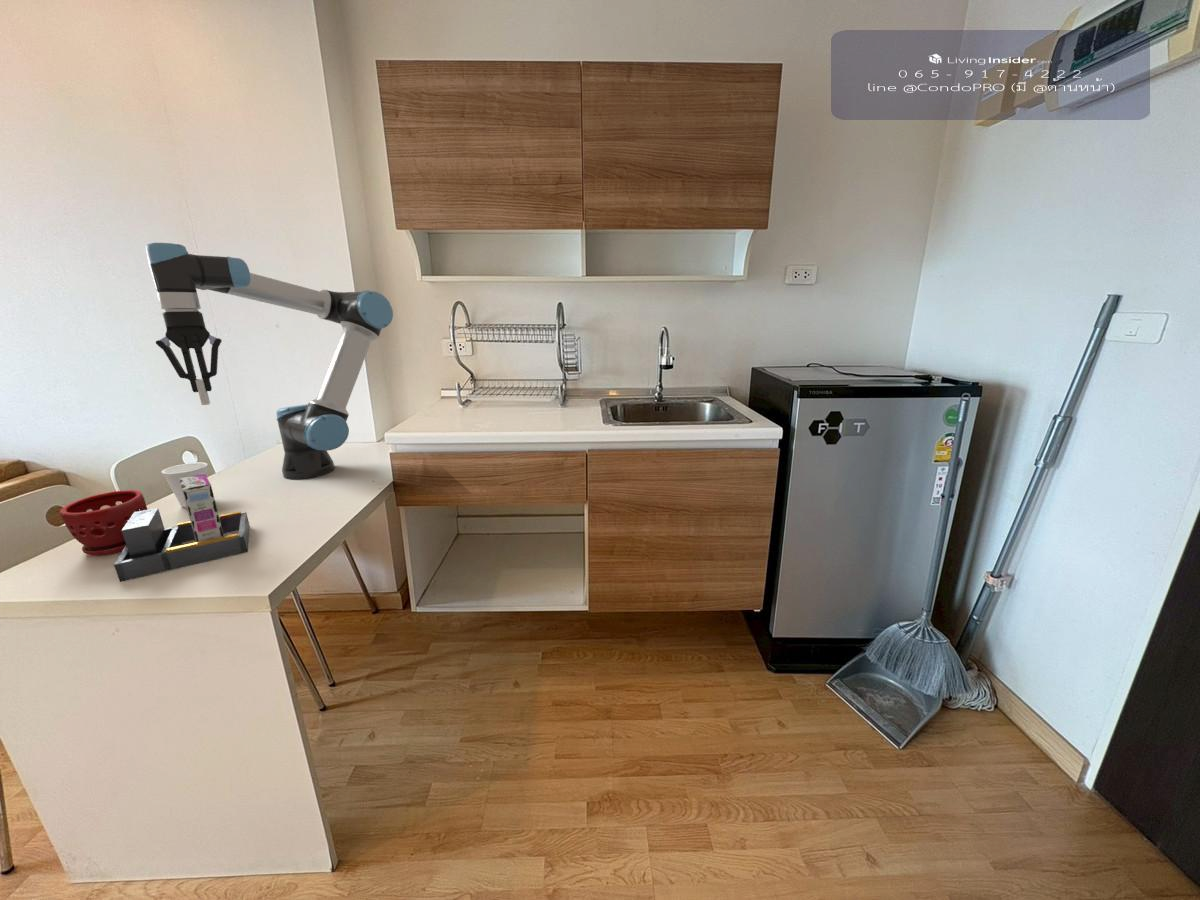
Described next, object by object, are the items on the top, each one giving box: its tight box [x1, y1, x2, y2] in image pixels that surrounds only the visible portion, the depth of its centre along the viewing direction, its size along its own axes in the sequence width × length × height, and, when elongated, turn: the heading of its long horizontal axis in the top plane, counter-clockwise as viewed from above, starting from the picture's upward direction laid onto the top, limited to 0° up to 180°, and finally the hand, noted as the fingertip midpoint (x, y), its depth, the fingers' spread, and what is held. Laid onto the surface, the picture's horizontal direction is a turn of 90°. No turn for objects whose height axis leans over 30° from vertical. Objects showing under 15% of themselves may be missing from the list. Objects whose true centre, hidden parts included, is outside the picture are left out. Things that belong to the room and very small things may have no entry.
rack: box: [113, 507, 251, 583], centre depth 104 cm, size 21×16×10 cm
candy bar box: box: [180, 474, 225, 542], centre depth 106 cm, size 11×5×16 cm, turn 44°
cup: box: [161, 461, 209, 509], centre depth 131 cm, size 10×10×11 cm
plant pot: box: [59, 489, 148, 557], centre depth 106 cm, size 13×13×12 cm
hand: (206, 403), depth 122 cm, fingers closed
